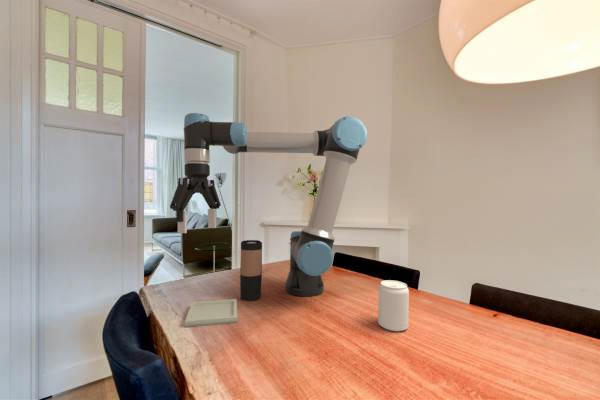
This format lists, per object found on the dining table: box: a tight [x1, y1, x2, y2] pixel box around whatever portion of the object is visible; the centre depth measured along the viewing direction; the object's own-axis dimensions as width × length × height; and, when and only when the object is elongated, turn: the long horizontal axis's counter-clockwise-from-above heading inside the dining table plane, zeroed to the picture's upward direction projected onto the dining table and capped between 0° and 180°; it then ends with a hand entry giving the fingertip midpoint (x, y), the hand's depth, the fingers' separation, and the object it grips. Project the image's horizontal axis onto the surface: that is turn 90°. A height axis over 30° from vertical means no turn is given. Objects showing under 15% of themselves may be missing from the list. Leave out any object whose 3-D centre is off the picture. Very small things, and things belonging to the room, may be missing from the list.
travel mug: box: [239, 239, 263, 302], centre depth 97 cm, size 8×8×20 cm
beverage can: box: [377, 279, 410, 332], centre depth 77 cm, size 8×8×12 cm
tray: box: [184, 298, 238, 328], centre depth 83 cm, size 14×14×2 cm
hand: (198, 230), depth 87 cm, fingers open, 13 cm apart
